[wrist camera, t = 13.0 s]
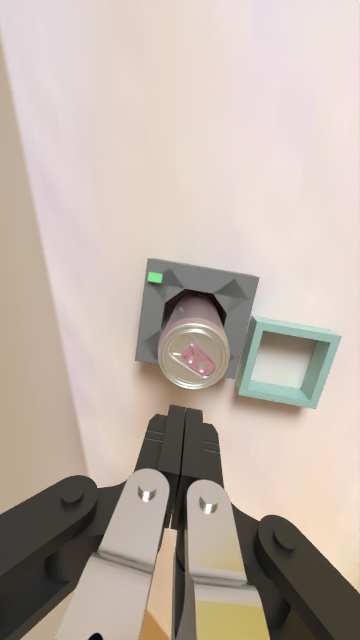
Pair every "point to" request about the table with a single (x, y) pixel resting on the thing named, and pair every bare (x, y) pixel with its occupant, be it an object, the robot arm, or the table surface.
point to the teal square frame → (315, 372)
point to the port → (175, 277)
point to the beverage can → (194, 344)
